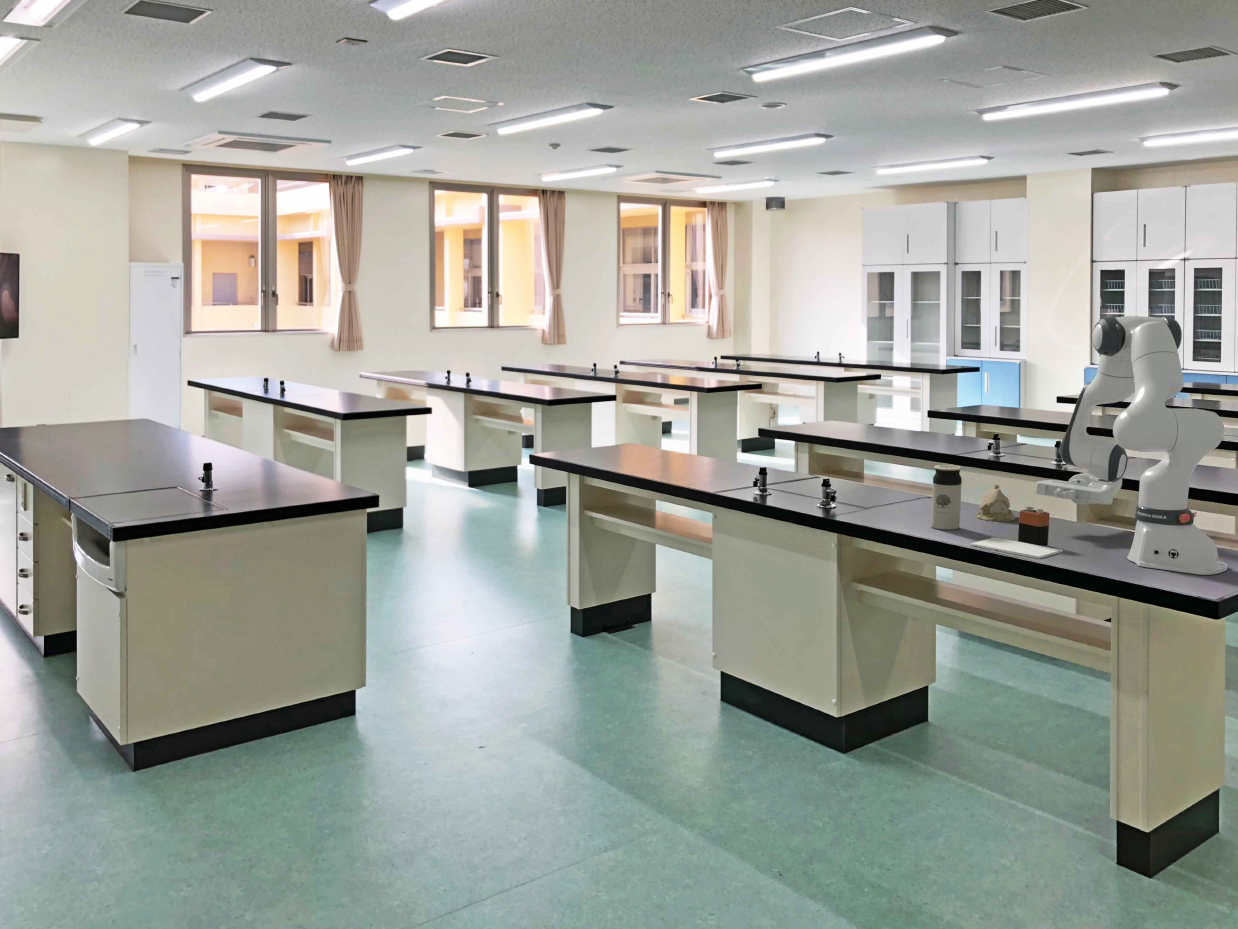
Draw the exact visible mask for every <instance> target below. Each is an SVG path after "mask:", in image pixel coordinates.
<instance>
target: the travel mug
mask: <svg viewBox="0 0 1238 929" xmlns="http://www.w3.org/2000/svg"><path fill="white" fill-rule="evenodd" d="M934 470H935V474H934V475H933V477H932V498H931V515H930V516H931V518H930V520H931V521H930V526H931V527H932V528H934V529H936V530H941V531H954V530H958V529H959V528H960V527H961V526H960V525H961V522H960V521H961V502H962V483H963V482H962V480H963V479H962V476H961V474H960V472H961V470H962V467H961V466H959V465H953V464H952V465H951V464H939V465H934Z"/></svg>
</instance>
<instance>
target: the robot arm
mask: <svg viewBox="0 0 1238 929" xmlns="http://www.w3.org/2000/svg"><path fill="white" fill-rule="evenodd" d="M1182 334H1183V333H1182V328H1181V326H1180V324H1179V322H1178V321H1177V320H1176V319H1173V318H1171V317H1170V318H1169V317H1165V316H1161V317H1154V316H1143V315H1142V316H1141V315H1140V316H1139V315H1127V316H1118V317H1115V316H1108V317H1103V318H1101V319H1099V320H1098V321H1097V323H1095V325H1094V328H1093V332H1092V344H1093V348H1094V351H1096V352H1097V354H1099V360H1098V364H1097V370H1096V375H1094V376H1095V377H1094V379H1092V381H1089V382H1086V384H1085V385H1084V386H1083V387H1082V388H1081V391H1080V393H1079V396H1078V398H1077V400H1076V404H1075V406H1074V408H1073V409H1074V410H1073V412H1072V415H1071V417H1070V420H1069V424H1068V426H1067V429H1066V432H1065V434H1064V436H1063V437H1062V440H1061V442H1060V445H1059V448H1058V449H1059V450H1058V452H1059V453H1058V454H1059V455H1060V457H1061V459H1062V461H1063V462H1064V464H1065V465H1069V466H1071V467H1077V468H1078V467H1079V468H1083V469H1086V470H1088V471H1087V472H1084V473H1079V474H1075V475H1073V476H1072V477H1070V478H1069V479H1068V481H1062V480H1057V479H1056V480H1055V479H1046V480H1039V481H1036V483H1035V493H1036V494H1037V495H1041V496H1046V497H1047V496H1048V497H1053V498H1056V499H1057V498H1058V499H1062V500H1063V499H1066V500H1071V501H1072V502H1073V503H1074V504H1076V505H1081V506H1085V505H1093V504H1096V505H1104V506H1106V505H1108V506H1110V505H1112V504H1113V500H1114V499H1113V498H1114V496H1115V495H1116V494H1117V493H1118V492H1119V491H1120V490H1121V489H1122V486H1123V477H1124V474H1125V472H1126V470H1127V467H1128V454H1127V451H1126V450H1129V451H1133V452H1139V453H1164V454H1163V457H1162V459H1161V461H1159V462H1158V463H1156V464H1155V465H1153V466H1151V467H1148V468H1147V469H1146V470H1144V471H1143V473H1142V474H1141V475H1140V478H1139V486H1138V487H1139V488H1138V490H1139V491H1138V502H1137V504H1136V505H1135V512H1134V513H1135V514H1134V525H1135V529H1134V530H1135V531H1134V534H1133V535H1134V536H1133V538H1132V539H1133V540H1132V543H1131V546H1130V550H1129V552H1128V555H1127V557H1126V558H1127V559H1128V560H1129V561H1131V562H1133V563H1135V564H1136V565H1137V566H1139V567H1144V568H1148V569H1149V568H1150V569H1158V570H1165V571H1170V572H1172V571H1173V572H1177V573H1178V572H1179V573H1184V574H1185V573H1186V574H1193V575H1201V576H1209V575H1217V574H1221V573H1223V572H1225V571H1227V570H1228V564H1227V563H1226V562H1223V561H1219V553H1218V548H1217V544H1216V542H1215V541H1214V540H1213V539H1211V538H1210V537H1209V536H1208V534H1205V533H1204V532H1203V531H1202V530H1201V529H1200V528H1199V527H1197V526H1196V525H1195V524H1194V523H1195V520H1194V519H1195V518H1196V517H1197V513H1198V512H1197V511H1196V512H1192V511H1191V510H1190V509H1189V508H1188V499H1189V489H1190V484H1191V479H1192V476H1193V473H1194V471H1195V469H1196V467H1197V466H1198V464H1200V462H1201V460H1202V459H1203V458H1204V457H1205V456H1206V455H1208V454H1209V453H1211V451H1214V450H1215V449H1216V448H1217V447H1219V445H1220V444H1221V442H1222V441H1223V438H1224V435H1225V427H1224V423H1223V420H1222V419H1221V417H1220V416H1219V415H1218V414H1217V413H1216V412H1214V411H1210V410H1205V409H1199V408H1179V407H1178V408H1174V407H1173V408H1171V407H1166V403H1165V402H1167V401H1168V400H1170V399H1172V398H1175V397H1176V396H1177V395H1178V394H1179V393H1180V392H1181V391H1182V389H1183V388H1184V382H1185V380H1184V376H1183V370H1182V365H1181V361H1180V355H1179V350H1178V349H1180V346H1181V344H1182V338H1183V337H1182V336H1183V335H1182ZM1133 394H1134V396H1133ZM1132 396H1133V399H1132V401H1131V402H1130V404H1129V405H1128V406H1127V407H1126V408H1125V409H1124V410H1123V411H1121V412H1120V413H1119V414H1118V416H1117V417H1116V418H1115V420H1114V422H1113V425H1112V426H1113V427H1112V435H1113V438H1114V441H1111V440H1108V439H1105V438H1104V439H1103V438H1100V437H1096V436H1093V435H1090V434H1089V433H1088V432H1087V428H1088V425H1089V422H1090V419H1091V416H1092V414H1093V411H1094V408H1096V406H1098V405H1105V404H1114V403H1118V402H1121V401H1125V400H1127V399H1129V398H1130V397H1132Z"/></svg>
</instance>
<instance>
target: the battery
mask: <svg viewBox="0 0 1238 929" xmlns="http://www.w3.org/2000/svg"><path fill="white" fill-rule="evenodd" d="M1050 515H1051V514H1050V512H1049V511H1044V509H1040V508H1038V509H1035V507H1034V506H1025V509H1021V510H1019V518H1018V535H1017V536H1018V537H1017V542H1023V543H1028V544H1034V545H1039V546H1045V547H1047V546H1048V544H1049V533H1050V532H1049V528H1050Z"/></svg>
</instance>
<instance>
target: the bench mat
mask: <svg viewBox="0 0 1238 929" xmlns="http://www.w3.org/2000/svg"><path fill="white" fill-rule="evenodd" d="M969 546H971V547H974V546H977V547H976V548H980V547H981V549H985V548H986V549H985V550H990V549H993V550H992V551H995V550H998V551H997V552H1001V553H1007V554H1013V555H1018V556H1023V557H1028V558H1032V559H1033V558H1034V559H1038V560H1039V559H1044V558H1046V557H1050V556H1054V555H1057V554H1060V553H1063V552H1064V549H1062V548H1054V547H1049V546H1039V545H1034V544H1028V543H1023V542H1018V540H1011V539H1005V538H999V537H995V536H994V537H990V538H986V539H982V540H979V541H975V542H971V543H969Z"/></svg>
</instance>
